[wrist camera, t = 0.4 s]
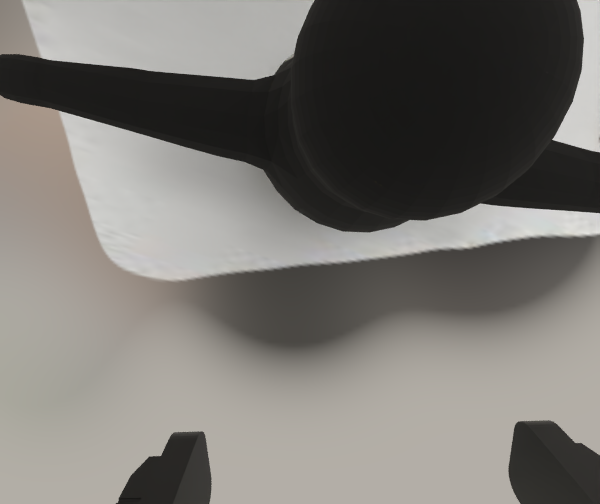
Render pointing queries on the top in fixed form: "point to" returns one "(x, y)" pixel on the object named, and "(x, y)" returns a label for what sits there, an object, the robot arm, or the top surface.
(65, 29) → the top surface
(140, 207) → the top surface
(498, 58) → the toy
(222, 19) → the top surface
